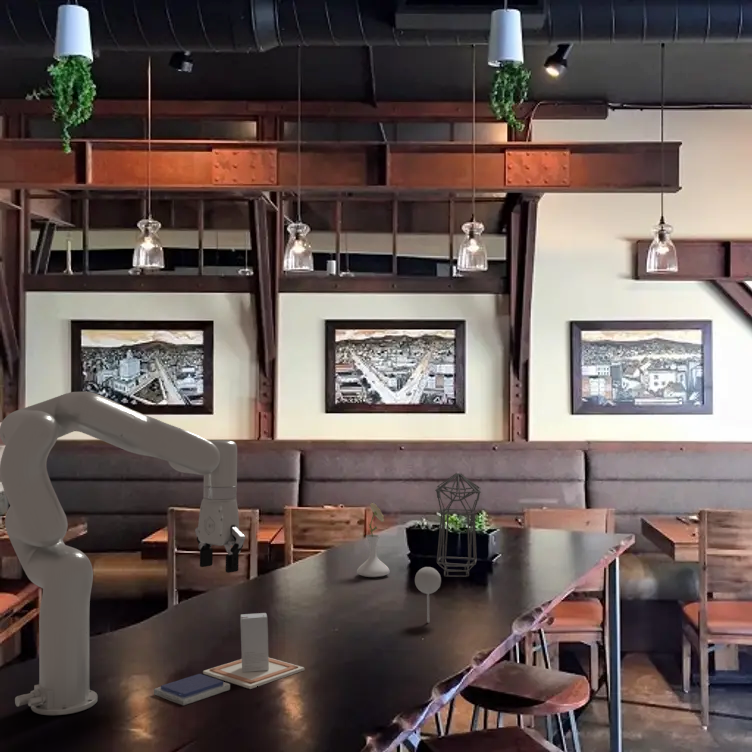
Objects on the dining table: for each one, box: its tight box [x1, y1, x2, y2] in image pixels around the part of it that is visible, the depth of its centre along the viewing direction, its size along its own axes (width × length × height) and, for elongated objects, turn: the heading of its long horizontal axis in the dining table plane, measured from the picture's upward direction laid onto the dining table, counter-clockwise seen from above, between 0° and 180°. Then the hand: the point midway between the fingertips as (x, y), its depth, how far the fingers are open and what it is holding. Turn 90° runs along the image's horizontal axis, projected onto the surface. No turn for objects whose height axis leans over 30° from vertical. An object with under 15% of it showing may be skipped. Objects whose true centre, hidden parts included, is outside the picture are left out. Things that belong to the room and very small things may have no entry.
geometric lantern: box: [435, 472, 482, 578], centre depth 296 cm, size 16×16×35 cm
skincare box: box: [239, 612, 269, 672], centre depth 192 cm, size 6×4×12 cm
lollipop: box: [414, 566, 442, 624], centre depth 233 cm, size 7×7×15 cm
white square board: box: [202, 656, 306, 690], centre depth 192 cm, size 16×16×1 cm
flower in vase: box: [356, 502, 390, 578], centre depth 295 cm, size 13×11×25 cm
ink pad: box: [153, 673, 231, 706], centre depth 179 cm, size 12×10×2 cm
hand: (218, 568), depth 196 cm, fingers open, 9 cm apart
